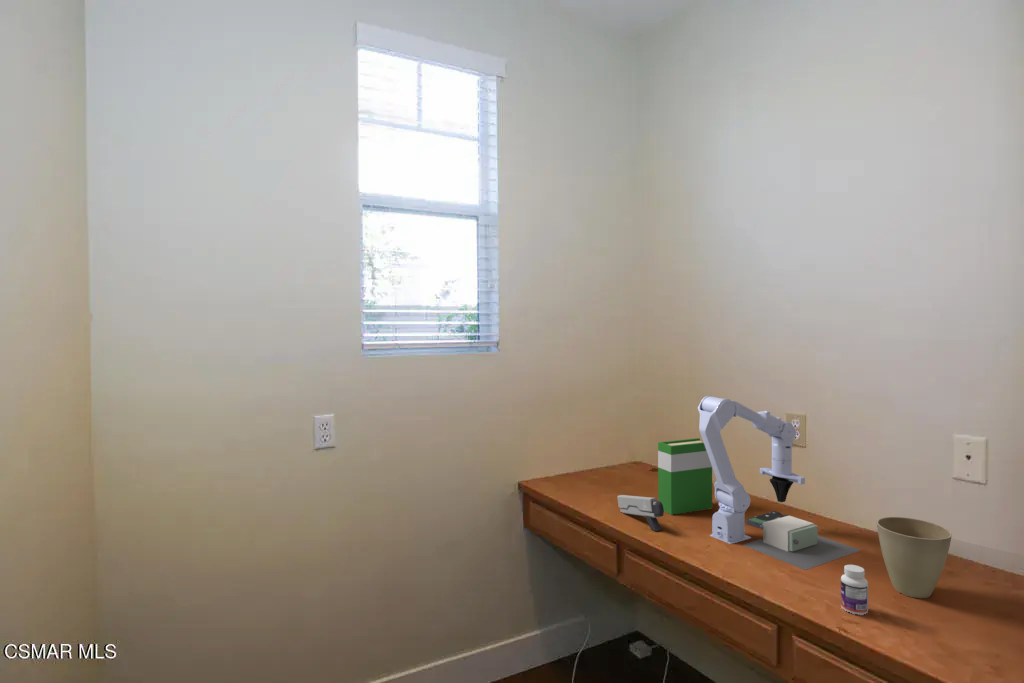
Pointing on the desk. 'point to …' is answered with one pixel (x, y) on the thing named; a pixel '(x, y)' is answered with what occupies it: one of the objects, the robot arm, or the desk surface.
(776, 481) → the robot arm
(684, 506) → the hardback book
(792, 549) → the cabinet door
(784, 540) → the cabinet
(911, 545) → the plant pot
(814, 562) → the mat
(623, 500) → the gun
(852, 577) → the pill bottle
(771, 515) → the disk drive
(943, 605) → the desk surface
